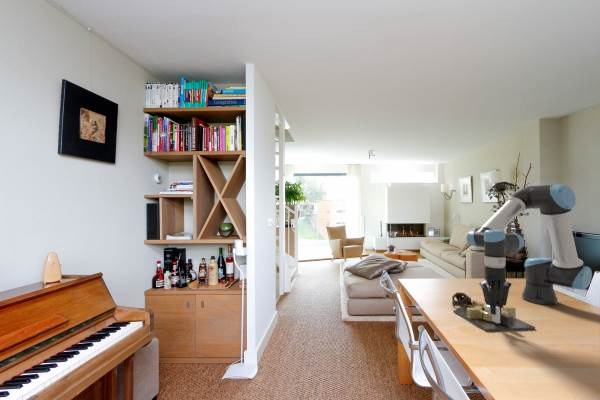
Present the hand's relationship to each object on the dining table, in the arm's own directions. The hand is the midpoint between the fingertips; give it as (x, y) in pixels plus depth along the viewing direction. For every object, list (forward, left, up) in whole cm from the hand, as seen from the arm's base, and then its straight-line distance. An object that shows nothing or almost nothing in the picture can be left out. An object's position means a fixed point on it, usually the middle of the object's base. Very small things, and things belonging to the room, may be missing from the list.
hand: (496, 321), depth 123 cm
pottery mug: (-2, -27, -3) cm, 27 cm away
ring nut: (-4, -8, -1) cm, 9 cm away
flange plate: (-4, -8, -3) cm, 10 cm away
